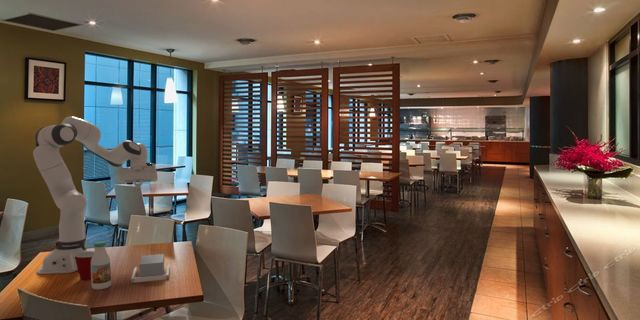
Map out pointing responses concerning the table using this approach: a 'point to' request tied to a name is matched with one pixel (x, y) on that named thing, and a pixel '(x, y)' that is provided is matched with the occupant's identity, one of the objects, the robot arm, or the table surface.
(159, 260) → the slate block
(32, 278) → the table surface
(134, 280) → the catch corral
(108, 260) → the milk bottle
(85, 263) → the plastic cup
